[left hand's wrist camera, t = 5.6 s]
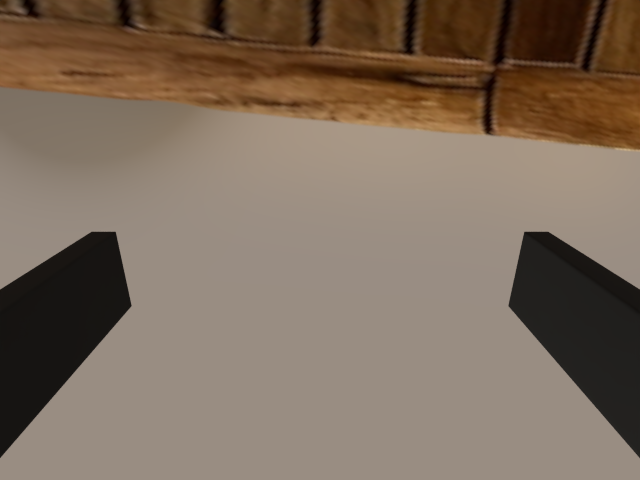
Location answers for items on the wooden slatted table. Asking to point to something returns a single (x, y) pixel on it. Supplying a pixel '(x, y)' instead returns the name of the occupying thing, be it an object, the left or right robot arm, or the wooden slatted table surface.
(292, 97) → the wooden slatted table surface
